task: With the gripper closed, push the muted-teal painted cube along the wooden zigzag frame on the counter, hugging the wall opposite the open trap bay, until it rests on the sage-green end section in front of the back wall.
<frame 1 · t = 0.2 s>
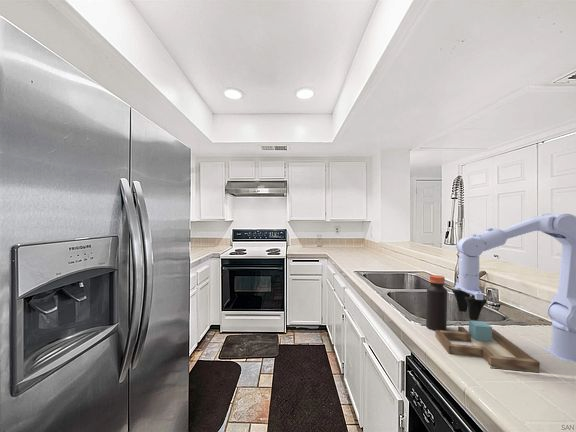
hand: (467, 315, 93), 10 cm above the worktop, tool pointing down, fingers open, 7 cm apart
block: (479, 338, 98), point 1 cm above the worktop, touching wooden zigzag frame
bottle: (436, 329, 106), on the worktop
wooden zigzag frame: (488, 347, 92), on the worktop
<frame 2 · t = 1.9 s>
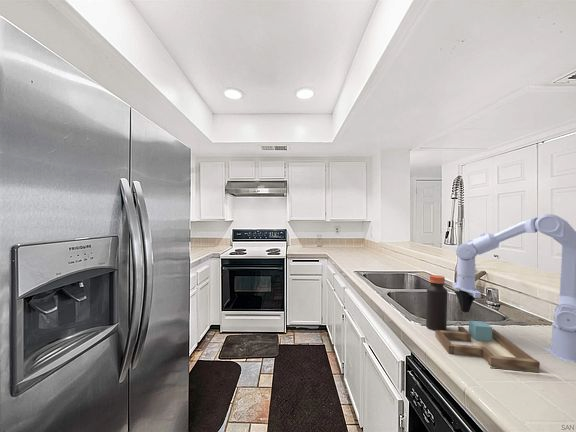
hand: (465, 311, 106), 7 cm above the worktop, tool pointing down, fingers closed
nothing on the worktop moved.
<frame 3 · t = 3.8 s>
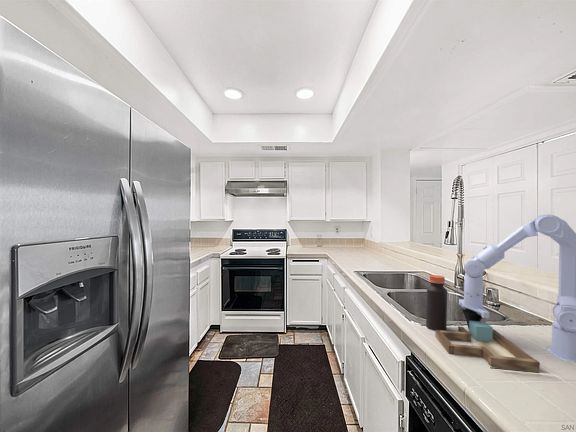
hand: (472, 330, 102), 1 cm above the worktop, tool pointing down, fingers closed
block: (480, 338, 97), point 1 cm above the worktop, touching gripper, wooden zigzag frame
everything else where it was.
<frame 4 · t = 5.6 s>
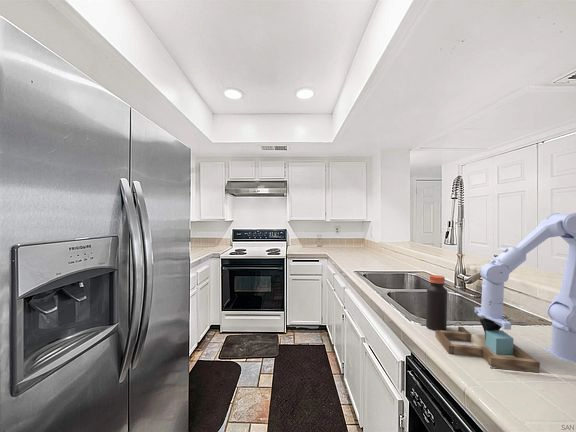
hand: (490, 342, 92), 2 cm above the worktop, tool pointing down, fingers closed, pressing on block
block: (498, 349, 89), point 1 cm above the worktop, tilted 6°, touching gripper, wooden zigzag frame
everything else where it was.
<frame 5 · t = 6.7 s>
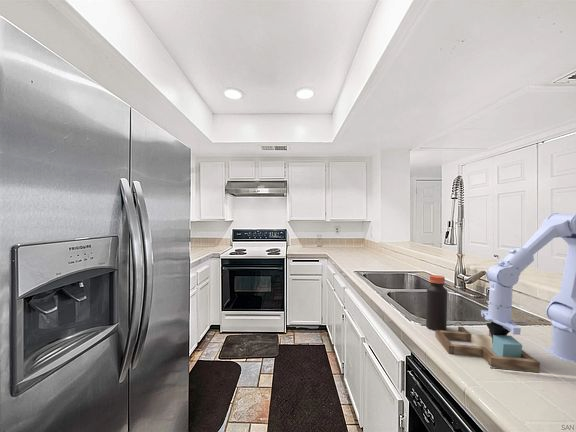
hand: (497, 347, 88), 2 cm above the worktop, tool pointing down, fingers closed, pressing on block
block: (506, 355, 85), point 1 cm above the worktop, tilted 7°, touching gripper, wooden zigzag frame
everything else where it was.
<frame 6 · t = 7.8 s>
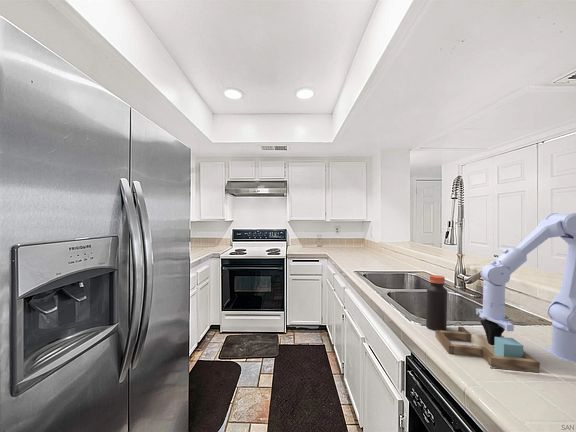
hand: (492, 344, 91), 1 cm above the worktop, tool pointing down, fingers closed
block: (508, 357, 84), point 1 cm above the worktop, touching wooden zigzag frame
everything else where it was.
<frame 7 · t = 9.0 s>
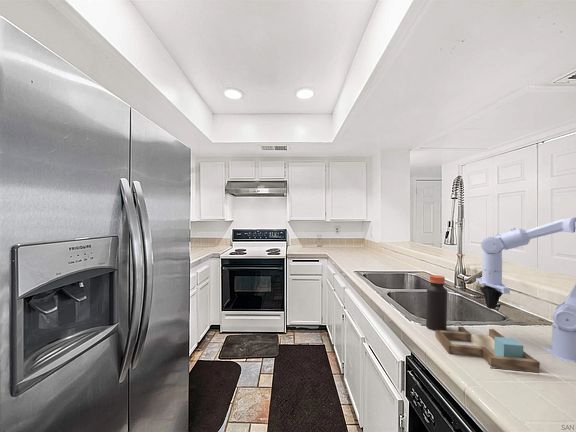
hand: (491, 308, 101), 10 cm above the worktop, tool pointing down, fingers closed
nothing on the worktop moved.
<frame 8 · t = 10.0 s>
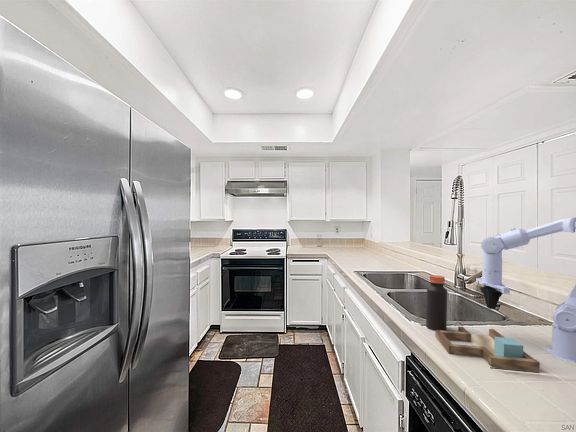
hand: (491, 308, 101), 10 cm above the worktop, tool pointing down, fingers closed
nothing on the worktop moved.
at the end: block inside the target area (2.5 cm from its centre), point 0.6 cm above the worktop; block tilted 0° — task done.
